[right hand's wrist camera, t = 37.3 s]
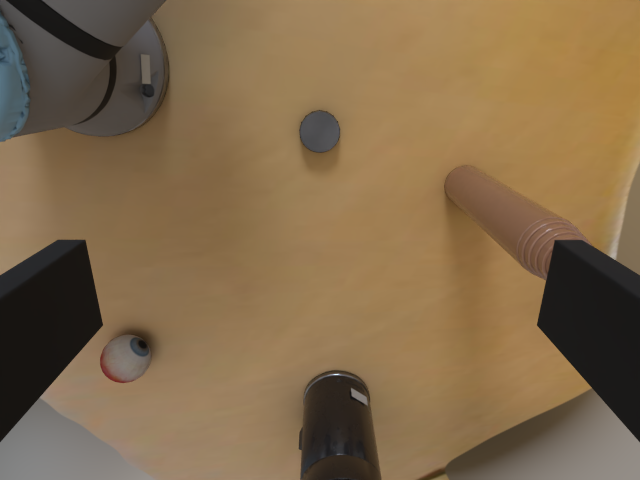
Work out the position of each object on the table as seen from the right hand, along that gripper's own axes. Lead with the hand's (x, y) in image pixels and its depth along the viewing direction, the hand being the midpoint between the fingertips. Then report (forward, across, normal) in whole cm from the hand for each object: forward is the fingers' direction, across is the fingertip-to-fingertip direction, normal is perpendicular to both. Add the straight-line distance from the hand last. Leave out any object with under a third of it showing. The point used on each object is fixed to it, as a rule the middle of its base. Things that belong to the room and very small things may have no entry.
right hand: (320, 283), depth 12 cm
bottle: (+39, +17, -6) cm, 43 cm away
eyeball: (+39, -25, -28) cm, 54 cm away
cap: (+37, 0, 0) cm, 37 cm away
